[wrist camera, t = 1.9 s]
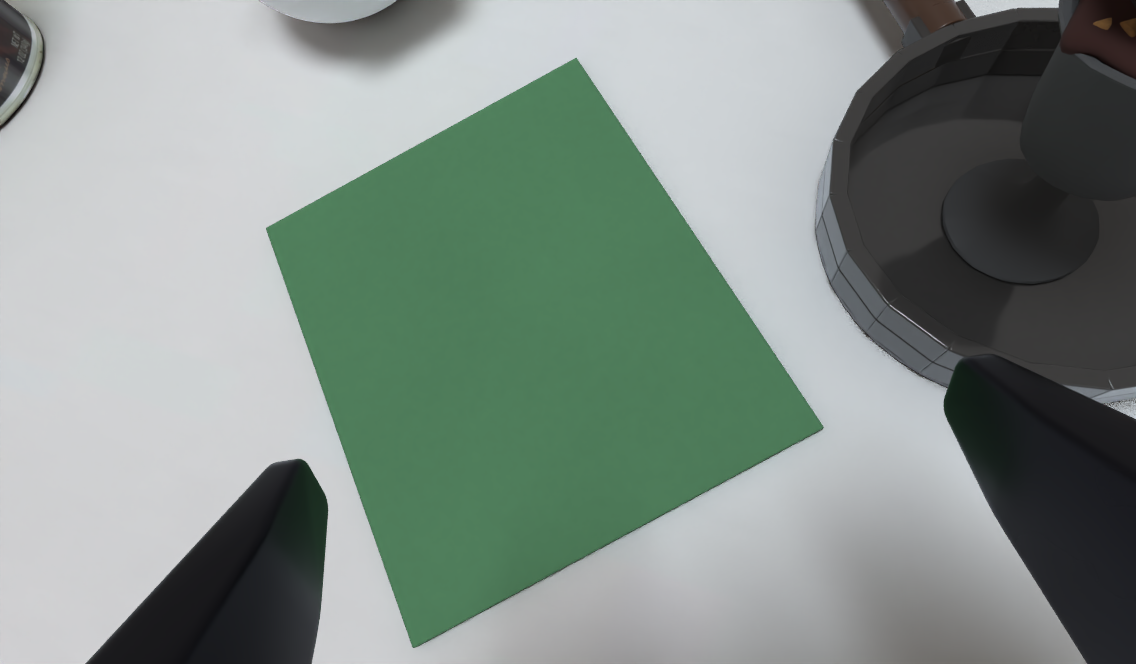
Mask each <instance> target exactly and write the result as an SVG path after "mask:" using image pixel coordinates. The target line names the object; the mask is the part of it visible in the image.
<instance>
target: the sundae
mask: <svg viewBox="0 0 1136 664" xmlns="http://www.w3.org/2000/svg"><path fill="white" fill-rule="evenodd" d="M1058 21H1059V27H1060V33H1061V40H1060V42H1059V44H1058V46H1057V48H1056V50H1055V51H1054V53H1053V55H1052V57H1051V59H1050V61H1049V63H1048V65H1047V67H1046V69H1045V71H1044V73H1043V75H1042V77H1041V79H1040V81H1039V82H1038V84H1037V87H1036V89H1035V91H1034V93H1033V95H1032V98H1031V100H1030V103H1029V106H1028V109H1027V112H1026V115H1025V118H1024V120H1023V123H1022V128H1021V134H1020V146H1021V151H1022V153H1023V155H1024V157H1025V159H1026V160H1023V159H1002V160H997V161H992V162H989V163H985V164H982V165H979V166H977V167H975V168H973V169H972V170H970V171H968V172H966V173H965V174H964V175H963V176H961V177H960V178H959V179H957V180H956V182H955V183H954V184H953V186H952V187H951V189H950V190H949V192H948V194H947V196H946V198H945V200H944V205H943V212H942V213H943V227H944V229H945V232H946V235H947V237H948V239H949V241H950V243H951V245H952V247H953V248H954V249H955V251H956V252H957V253H958V254H959V255H960V256H961V257H962V258H963V259H964V260H965V261H966V262H968V263H969V264H970V265H971V266H972V267H974V268H975V269H977V270H979V271H981V272H983V273H985V274H987V275H989V276H992V277H994V278H997V279H999V280H1002V281H1008V282H1014V283H1025V284H1037V283H1043V282H1049V281H1053V280H1056V279H1060V278H1063V277H1065V276H1067V275H1068V274H1070V273H1072V272H1074V271H1075V270H1077V269H1078V268H1079V267H1080V266H1082V265H1083V264H1084V263H1085V262H1087V260H1088V258H1089V257H1090V255H1091V254H1092V252H1093V251H1094V249H1095V246H1096V244H1097V242H1098V240H1099V215H1098V211H1097V209H1096V206H1095V204H1094V202H1093V200H1092V199H1094V200H1101V201H1117V200H1122V199H1126V198H1130V197H1135V196H1136V0H1059V9H1058Z"/></svg>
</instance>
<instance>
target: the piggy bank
mask: <svg viewBox="0 0 1136 664" xmlns="http://www.w3.org/2000/svg"><path fill="white" fill-rule="evenodd" d="M259 1H260V2H262V3H263V4H265V5H267V6H268V7H270V8H272V9H274V10H276V11H278V12H280V13H282V14H285V15H287V16H290V17H293V18H296V19H300V20H304V21H309V22H316V23H342V22H349V21H353V20H358V19H361V18H364V17H367V16H370V15H372V14H375V13H377V12H379V11H381V10H383V9H385V8H386V7H388V6H389V5H391V4H392V3H394V2H395V1H397V0H259Z"/></svg>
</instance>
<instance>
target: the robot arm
mask: <svg viewBox="0 0 1136 664" xmlns="http://www.w3.org/2000/svg"><path fill="white" fill-rule="evenodd" d="M944 412H945V416H946V418H947V420H948V422H949V424H950V426H951V429H952V431H953V433H954V435H955V437H956V439H957V441H958V443H959V445H960V447H961V449H962V451H963V453H964V455H965V457H966V459H967V461H968V463H969V465H970V468H971V470H972V472H973V474H974V476H975V478H976V480H977V482H978V484H979V486H980V488H981V490H982V492H983V494H984V496H985V498H986V500H987V502H988V504H989V506H990V508H991V510H992V512H993V513H994V515H995V517H996V519H997V520H998V522H999V524H1000V525H1001V527H1002V529H1003V530H1004V532H1005V534H1006V535H1007V537H1008V538H1009V540H1010V541H1011V543H1012V545H1013V546H1014V548H1015V549H1016V551H1017V553H1018V554H1019V556H1020V557H1021V559H1022V561H1023V562H1024V564H1025V565H1026V567H1027V569H1028V570H1029V572H1030V573H1031V575H1032V577H1033V578H1034V580H1035V581H1036V583H1037V584H1038V586H1039V588H1040V589H1041V591H1042V592H1043V594H1044V596H1045V597H1046V599H1047V600H1048V602H1049V604H1050V605H1051V607H1052V608H1053V610H1054V612H1055V613H1056V615H1057V616H1058V618H1059V620H1060V621H1061V623H1062V624H1063V626H1064V627H1065V629H1066V631H1067V632H1068V634H1069V635H1070V637H1071V639H1072V640H1073V642H1074V643H1075V645H1076V647H1077V648H1078V650H1079V651H1080V653H1081V655H1082V656H1083V658H1084V659H1085V661H1086V663H1087V664H1136V419H1134V418H1132V417H1130V416H1128V415H1125V414H1123V413H1121V412H1119V411H1117V410H1115V409H1113V408H1110V407H1108V406H1106V405H1104V404H1102V403H1100V402H1097V401H1095V400H1093V399H1091V398H1089V397H1087V396H1085V395H1082V394H1080V393H1078V392H1076V391H1074V390H1072V389H1069V388H1067V387H1065V386H1063V385H1061V384H1059V383H1057V382H1054V381H1052V380H1050V379H1048V378H1046V377H1044V376H1041V375H1039V374H1037V373H1035V372H1033V371H1031V370H1029V369H1026V368H1024V367H1022V366H1020V365H1018V364H1016V363H1014V362H1011V361H1009V360H1007V359H1005V358H1003V357H1001V356H998V355H996V354H981V355H975V356H968V357H964V358H961V359H960V360H959V361H958V362H957V363H956V366H955V368H954V371H953V374H952V377H951V380H950V383H949V386H948V389H947V392H946V395H945V398H944ZM327 519H328V504H327V499H326V496H325V494H324V492H323V490H322V488H321V486H320V485H319V483H318V481H317V479H316V478H315V476H314V474H313V472H312V471H311V469H310V467H309V465H308V464H307V463H306V462H305V461H304V460H302V459H294V460H288V461H281V462H276V463H273V464H271V465H270V466H268V467H267V468H266V469H265V470H264V472H263V473H262V474H261V475H260V476H259V477H258V478H257V479H256V480H255V481H254V482H253V483H252V484H251V486H250V487H249V488H248V489H247V490H246V491H245V492H244V493H243V494H242V495H241V496H240V497H239V499H238V500H237V501H236V502H235V503H234V504H233V505H232V506H231V507H230V508H229V509H228V510H227V511H226V513H225V514H224V515H223V516H222V517H221V518H220V519H219V520H218V521H217V522H216V523H215V524H214V526H213V527H212V528H211V529H210V530H209V531H208V532H207V533H206V534H205V535H204V536H203V537H202V538H201V540H200V541H199V542H198V543H197V544H196V545H195V546H194V547H193V548H192V549H191V550H190V551H189V553H188V554H187V555H186V556H185V557H184V558H183V559H182V560H181V561H180V562H179V563H178V564H177V565H176V567H175V568H174V569H173V570H172V571H171V572H170V573H169V574H168V575H167V576H166V577H165V578H164V580H163V581H162V582H161V583H160V584H159V585H158V586H157V587H156V588H155V589H154V590H153V591H152V592H151V594H150V595H149V596H148V597H147V598H146V599H145V600H144V601H143V602H142V603H141V604H140V605H139V607H138V608H137V609H136V610H135V611H134V612H133V613H132V614H131V615H130V616H129V617H128V618H127V619H126V621H125V622H124V623H123V624H122V625H121V626H120V627H119V628H118V629H117V630H116V631H115V632H114V634H113V635H112V636H111V637H110V638H109V639H108V640H107V641H106V642H105V643H104V644H103V645H102V646H101V648H100V649H99V650H98V651H97V652H96V653H95V654H94V655H93V656H92V657H91V658H90V659H89V661H88V662H87V663H86V664H312V659H313V653H314V648H315V643H316V637H317V632H318V625H319V619H320V610H321V601H322V587H323V574H324V560H325V547H326V533H327Z"/></svg>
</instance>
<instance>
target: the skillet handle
mask: <svg viewBox="0 0 1136 664" xmlns="http://www.w3.org/2000/svg"><path fill="white" fill-rule="evenodd" d="M883 2H884V3H885V5H886V6H887V8H888V9H889V11H890V12H891V14H892V15H893V17H894V19H895V20H896V22H897V23H898V25H899V26H900V28H901V29H902V31H903V32H904V36H903V39H902V41H901V43H902V45H903V46H904V48H905V47H906V46H908V45H910V44H912V43H914V42H916V41H918V40H920V39H922V38H924V37H925V36H927V35H929V34H931V33H933V32H935V31H937V30H939V29H941V28H943V27H946V26H948V25H951V24H954V23H957V22H960V21H963V20H967V19H971V18H975V17H976V16H975V15H974V13H973V12H972V10H971V9H970V8H969V6H968V5H967V3H966V2H965V1H964V0H961V1H958V2H955V1H954V0H883ZM970 39H971V37H964V38H959V39H956V40H955V41H953V42H951V43H949V44H948V45H946V46H945V47H944V49H943V51H942V53H941V55H940V57H939V59H938V61H937V63H936V65H935V67H938V66H941V65H943V64H946V63H949V62H952V61H954V60H957V59H960V58H961V56H962V54H963V52H964V50H965V48H966V47H967V45H968V43H969V41H970ZM935 67H934V68H935Z"/></svg>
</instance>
